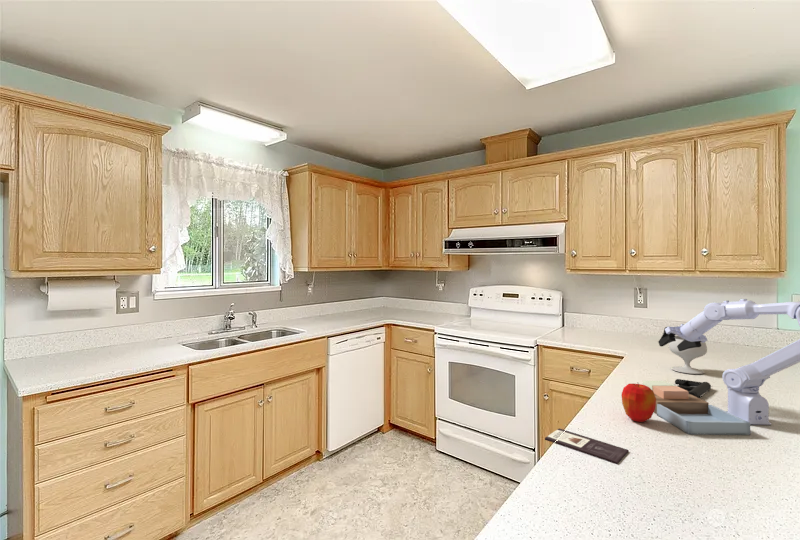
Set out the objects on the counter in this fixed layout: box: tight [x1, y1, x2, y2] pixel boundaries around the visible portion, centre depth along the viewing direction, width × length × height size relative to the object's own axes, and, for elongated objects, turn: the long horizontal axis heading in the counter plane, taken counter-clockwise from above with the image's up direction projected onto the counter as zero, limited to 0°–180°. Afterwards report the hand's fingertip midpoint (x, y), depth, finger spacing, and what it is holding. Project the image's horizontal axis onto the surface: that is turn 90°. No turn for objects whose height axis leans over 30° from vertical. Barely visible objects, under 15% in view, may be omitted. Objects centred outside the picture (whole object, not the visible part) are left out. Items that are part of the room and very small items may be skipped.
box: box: [656, 404, 751, 436], centre depth 115 cm, size 14×17×4 cm
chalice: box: [668, 335, 708, 375], centre depth 174 cm, size 14×14×15 cm
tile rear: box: [642, 380, 677, 391], centre depth 135 cm, size 6×8×2 cm
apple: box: [621, 383, 656, 423], centre depth 118 cm, size 9×9×12 cm
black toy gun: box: [674, 378, 713, 398], centre depth 147 cm, size 3×20×16 cm
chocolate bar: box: [544, 428, 629, 465], centre depth 102 cm, size 9×1×18 cm
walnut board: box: [653, 393, 710, 415], centre depth 131 cm, size 17×16×4 cm
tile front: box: [653, 385, 688, 399], centre depth 129 cm, size 6×8×2 cm
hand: (669, 346), depth 143 cm, fingers open, 7 cm apart
